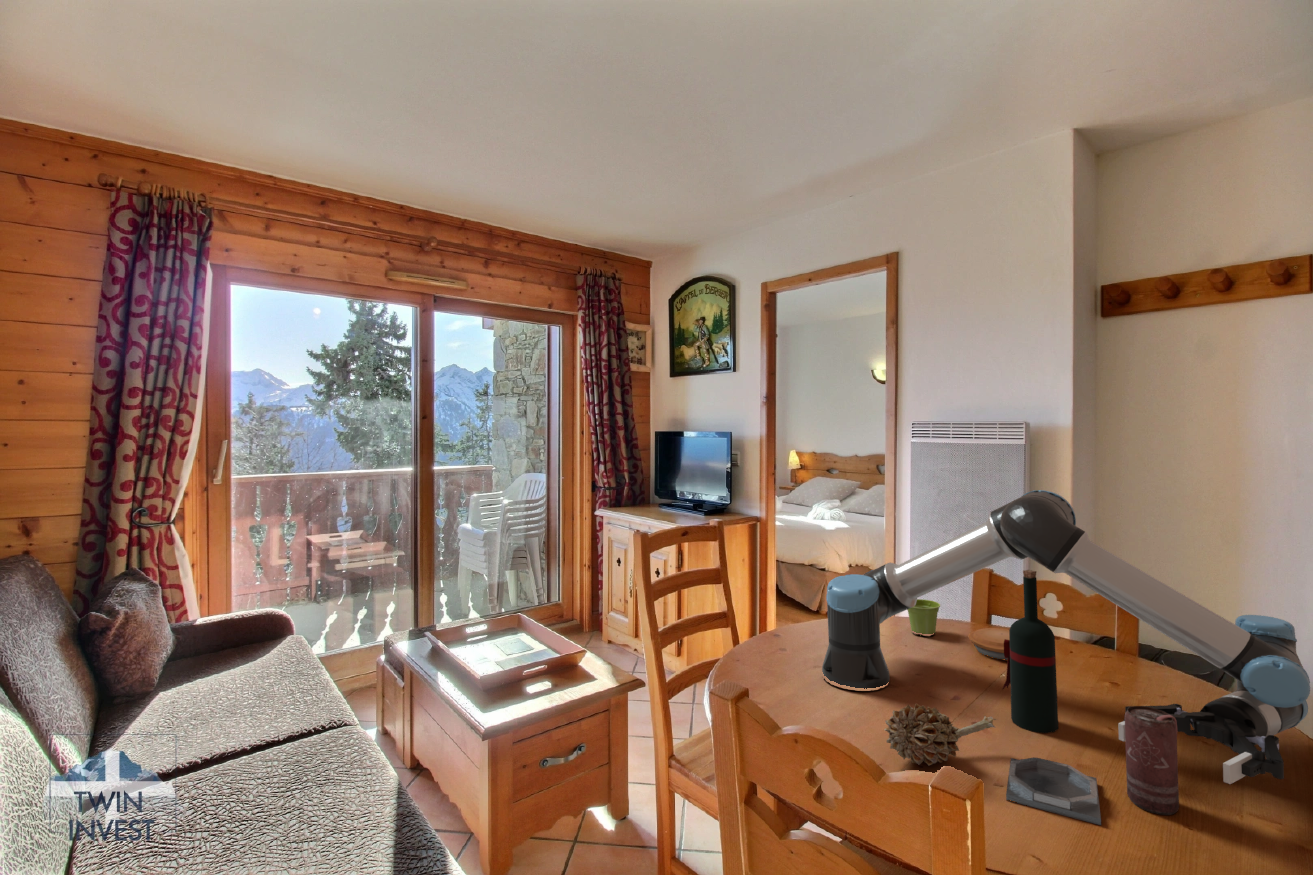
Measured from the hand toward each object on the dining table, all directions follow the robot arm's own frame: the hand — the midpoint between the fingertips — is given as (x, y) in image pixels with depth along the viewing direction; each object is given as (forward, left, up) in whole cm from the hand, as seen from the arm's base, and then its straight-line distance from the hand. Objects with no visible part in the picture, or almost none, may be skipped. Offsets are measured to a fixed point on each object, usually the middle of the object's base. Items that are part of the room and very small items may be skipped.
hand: (1170, 751), depth 93 cm
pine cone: (-32, -4, -8) cm, 33 cm away
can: (-2, -3, -8) cm, 9 cm away
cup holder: (-15, -7, -7) cm, 18 cm away
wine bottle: (-19, +18, -8) cm, 28 cm away
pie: (-26, +56, -8) cm, 63 cm away
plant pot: (-46, +62, -8) cm, 78 cm away
